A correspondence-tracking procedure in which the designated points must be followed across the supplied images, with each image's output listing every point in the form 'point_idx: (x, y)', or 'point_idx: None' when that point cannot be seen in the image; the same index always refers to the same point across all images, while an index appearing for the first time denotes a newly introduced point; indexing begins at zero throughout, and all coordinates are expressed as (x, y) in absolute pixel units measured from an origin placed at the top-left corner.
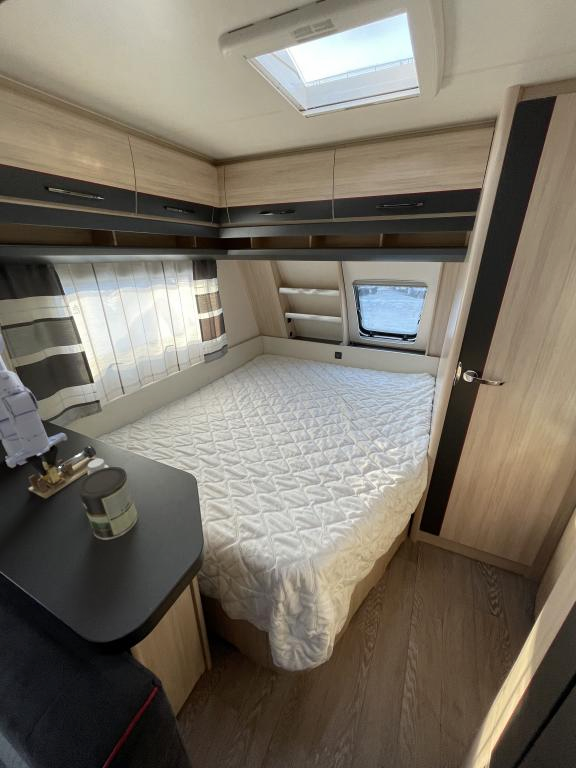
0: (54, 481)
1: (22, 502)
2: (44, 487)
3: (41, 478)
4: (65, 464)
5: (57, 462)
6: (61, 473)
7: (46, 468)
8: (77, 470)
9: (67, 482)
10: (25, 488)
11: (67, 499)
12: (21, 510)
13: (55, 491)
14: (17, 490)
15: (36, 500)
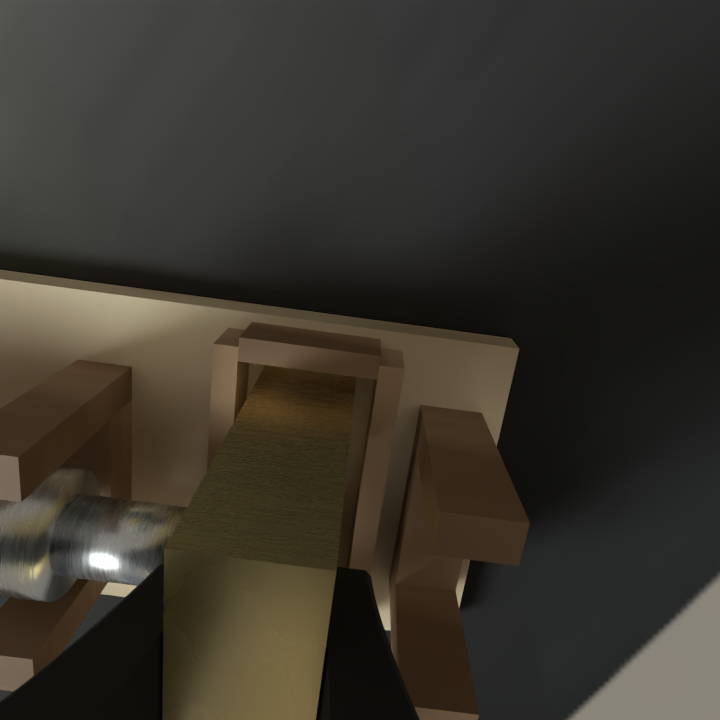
0: (329, 408)
1: (607, 526)
2: (455, 442)
3: None
4: (12, 525)
5: None
6: None
7: (292, 651)
8: (16, 387)
9: (229, 308)
10: None
11: (455, 33)
12: (714, 429)
13: (393, 325)
14: None
15: (554, 416)
